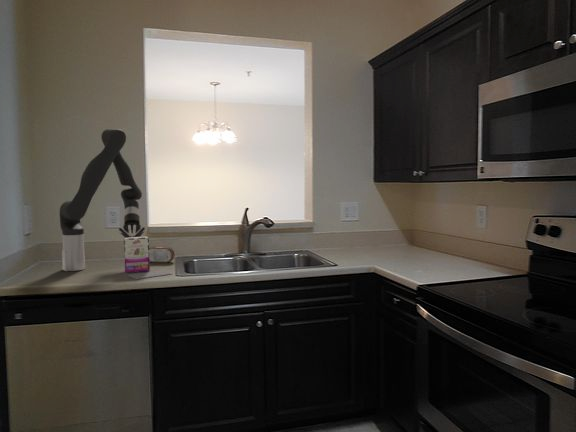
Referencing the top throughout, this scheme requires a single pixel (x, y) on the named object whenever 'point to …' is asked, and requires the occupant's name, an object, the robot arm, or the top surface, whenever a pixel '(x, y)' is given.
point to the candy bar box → (136, 254)
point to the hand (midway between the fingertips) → (132, 243)
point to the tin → (161, 254)
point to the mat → (149, 274)
